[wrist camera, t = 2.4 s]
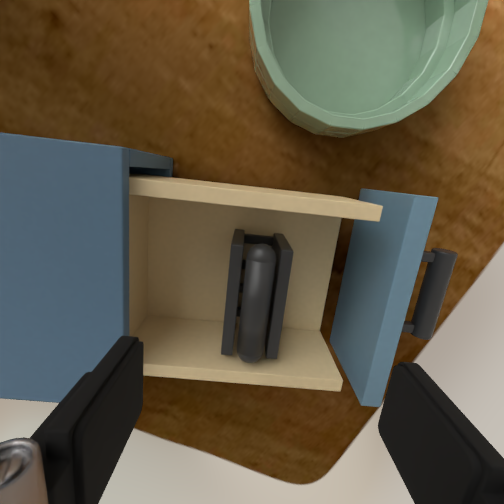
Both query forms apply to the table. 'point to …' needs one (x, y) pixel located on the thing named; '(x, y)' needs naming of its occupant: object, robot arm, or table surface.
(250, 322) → the grey roller rack
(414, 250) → the drawer
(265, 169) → the table surface
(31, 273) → the cabinet
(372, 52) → the bowl
